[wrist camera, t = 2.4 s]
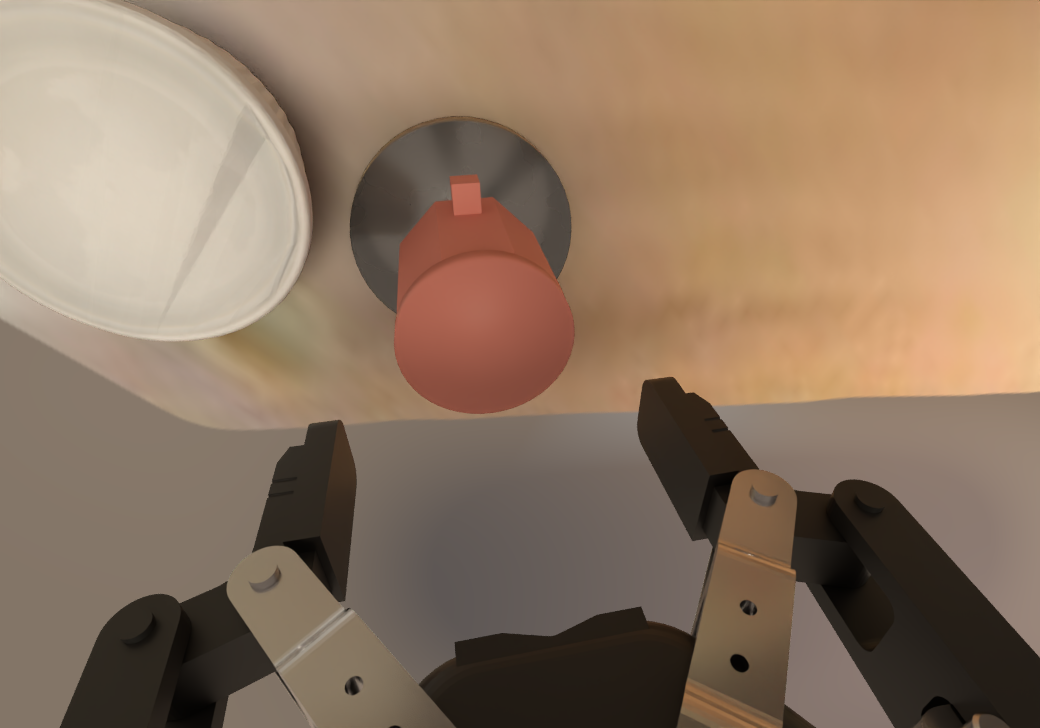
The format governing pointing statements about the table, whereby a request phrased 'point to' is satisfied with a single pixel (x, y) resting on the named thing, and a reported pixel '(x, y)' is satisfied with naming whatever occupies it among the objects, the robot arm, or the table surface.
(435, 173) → the grey lamp
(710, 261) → the table surface
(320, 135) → the table surface
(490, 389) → the cap
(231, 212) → the ramekin
